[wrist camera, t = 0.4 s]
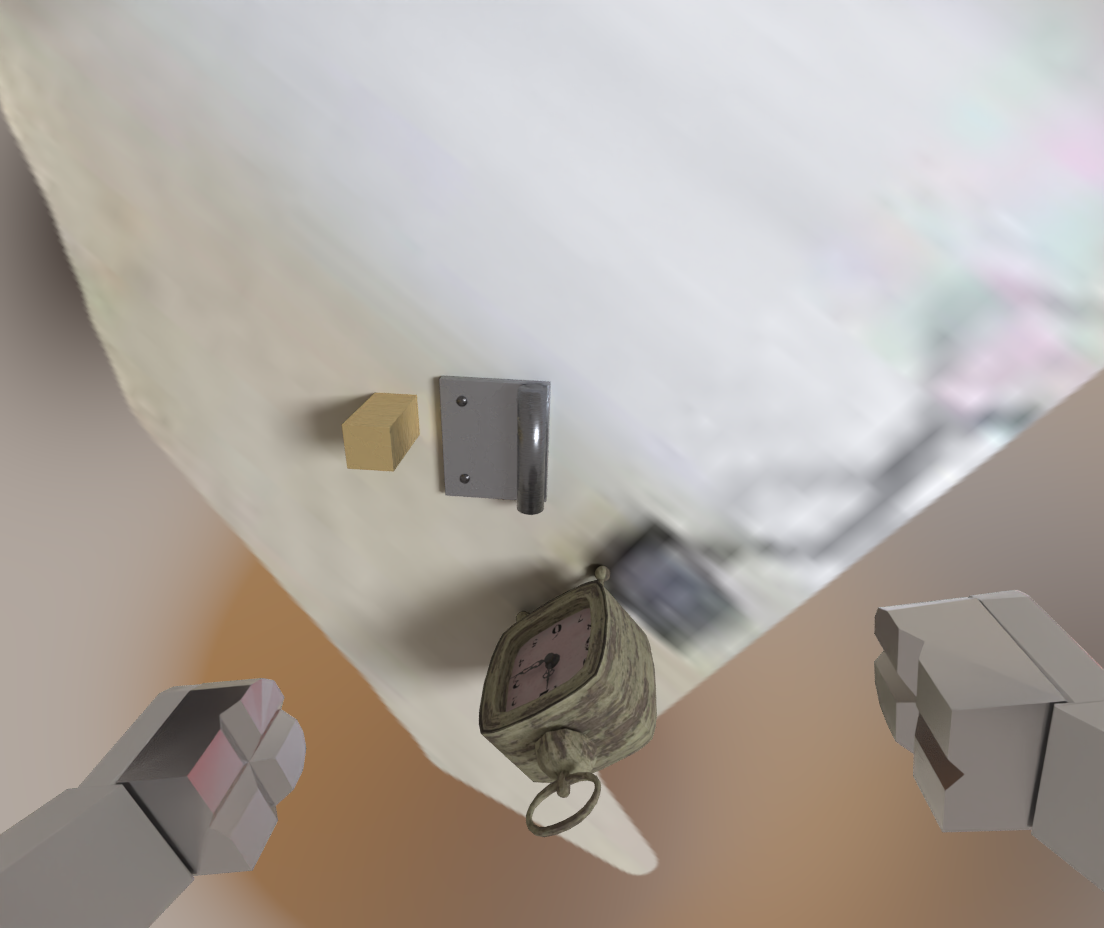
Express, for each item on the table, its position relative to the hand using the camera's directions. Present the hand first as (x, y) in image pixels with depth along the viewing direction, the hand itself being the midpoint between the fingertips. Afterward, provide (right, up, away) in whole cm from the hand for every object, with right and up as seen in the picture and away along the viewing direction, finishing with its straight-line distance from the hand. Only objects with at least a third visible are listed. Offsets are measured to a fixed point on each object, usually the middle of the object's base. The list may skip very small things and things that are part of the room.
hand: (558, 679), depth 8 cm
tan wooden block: (-15, +8, +49) cm, 52 cm away
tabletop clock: (+3, -13, +58) cm, 59 cm away
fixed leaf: (-5, +5, +49) cm, 50 cm away
